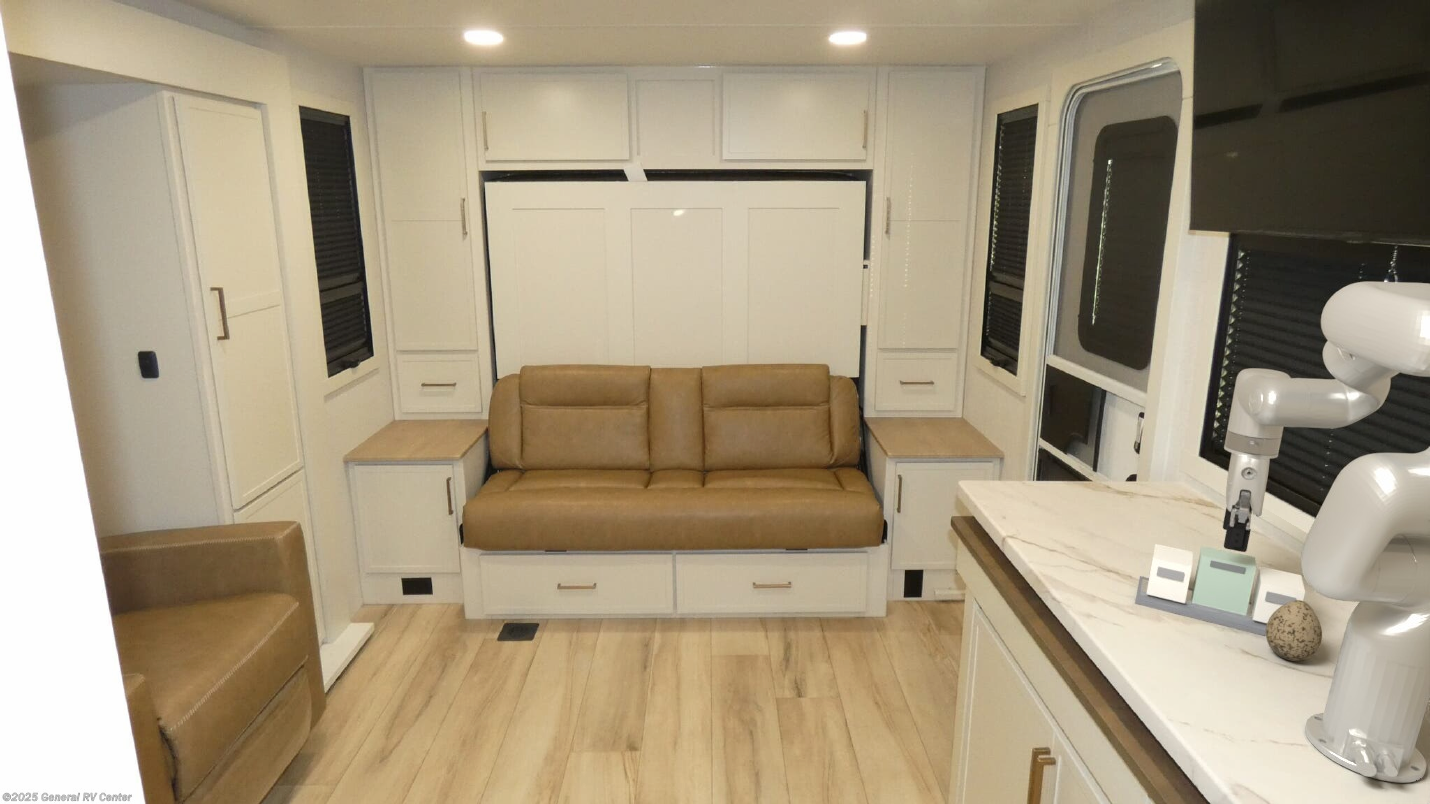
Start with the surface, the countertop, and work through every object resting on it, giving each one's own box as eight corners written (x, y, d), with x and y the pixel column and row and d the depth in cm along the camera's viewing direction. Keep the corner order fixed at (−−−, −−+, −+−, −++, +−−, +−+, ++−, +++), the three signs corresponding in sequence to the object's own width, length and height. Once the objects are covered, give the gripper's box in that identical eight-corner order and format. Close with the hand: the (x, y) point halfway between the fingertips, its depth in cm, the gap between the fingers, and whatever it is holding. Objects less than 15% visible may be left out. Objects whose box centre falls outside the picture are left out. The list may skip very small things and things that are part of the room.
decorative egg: (1279, 641, 132) (1292, 586, 129) (1325, 665, 126) (1340, 607, 123) (1250, 650, 129) (1263, 594, 126) (1296, 675, 123) (1311, 616, 120)
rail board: (1305, 646, 131) (1317, 598, 128) (1134, 603, 143) (1142, 559, 141) (1300, 619, 139) (1311, 574, 137) (1139, 580, 151) (1146, 539, 149)
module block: (1246, 615, 136) (1256, 567, 134) (1191, 603, 140) (1201, 556, 138) (1244, 604, 140) (1255, 557, 138) (1192, 591, 144) (1201, 545, 142)
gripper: (1283, 460, 124) (1263, 563, 128) (1275, 435, 138) (1257, 528, 142) (1226, 452, 127) (1208, 552, 131) (1224, 428, 142) (1208, 519, 146)
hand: (1233, 540), depth 137 cm, fingers open, 9 cm apart
